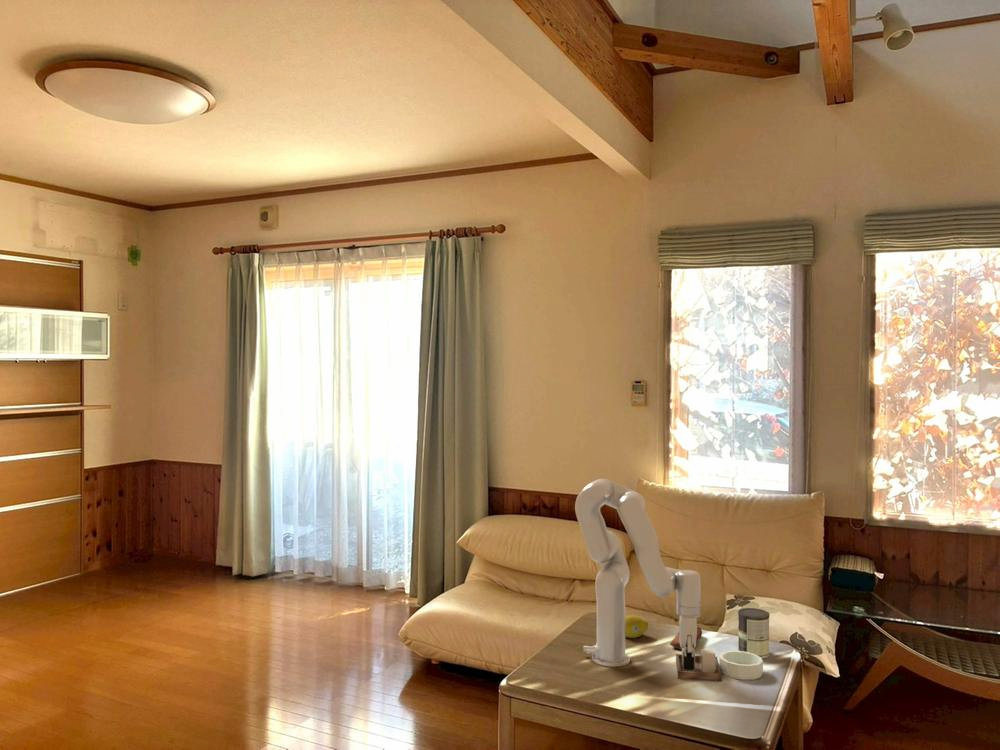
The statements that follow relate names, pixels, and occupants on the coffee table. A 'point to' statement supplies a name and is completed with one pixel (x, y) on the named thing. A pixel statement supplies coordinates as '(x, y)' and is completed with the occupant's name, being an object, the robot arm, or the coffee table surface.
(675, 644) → the sunglasses case
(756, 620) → the coffee can
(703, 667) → the beige brick
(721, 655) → the celadon bowl
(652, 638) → the coffee table surface
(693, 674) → the walnut tray
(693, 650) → the light grey block
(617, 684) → the coffee table surface
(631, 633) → the lemon
